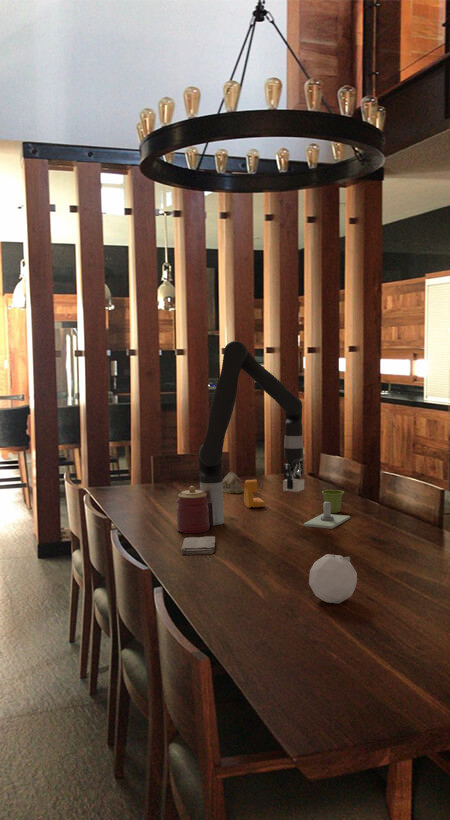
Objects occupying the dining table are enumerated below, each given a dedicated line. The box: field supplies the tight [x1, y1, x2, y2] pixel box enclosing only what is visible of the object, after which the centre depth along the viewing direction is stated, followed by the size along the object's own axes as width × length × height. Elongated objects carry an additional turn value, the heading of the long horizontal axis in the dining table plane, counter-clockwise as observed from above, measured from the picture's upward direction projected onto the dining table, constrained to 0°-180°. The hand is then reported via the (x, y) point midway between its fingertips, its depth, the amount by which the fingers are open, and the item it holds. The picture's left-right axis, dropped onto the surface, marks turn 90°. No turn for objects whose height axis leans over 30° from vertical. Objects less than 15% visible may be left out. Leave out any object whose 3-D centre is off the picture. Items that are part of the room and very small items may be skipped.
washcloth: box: [180, 535, 216, 555], centre depth 275 cm, size 12×18×3 cm, turn 0°
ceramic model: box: [223, 471, 244, 494], centre depth 382 cm, size 14×11×10 cm
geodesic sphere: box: [308, 553, 358, 604], centre depth 213 cm, size 14×14×14 cm
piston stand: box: [303, 502, 351, 530], centre depth 309 cm, size 20×12×8 cm, turn 150°
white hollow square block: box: [282, 478, 305, 493], centre depth 309 cm, size 6×6×4 cm
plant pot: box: [321, 489, 345, 514], centre depth 328 cm, size 9×9×9 cm
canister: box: [175, 485, 211, 534], centre depth 301 cm, size 13×13×18 cm
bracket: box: [243, 479, 265, 509], centre depth 344 cm, size 11×7×12 cm, turn 11°
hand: (293, 487), depth 310 cm, fingers closed on white hollow square block, 6 cm apart
